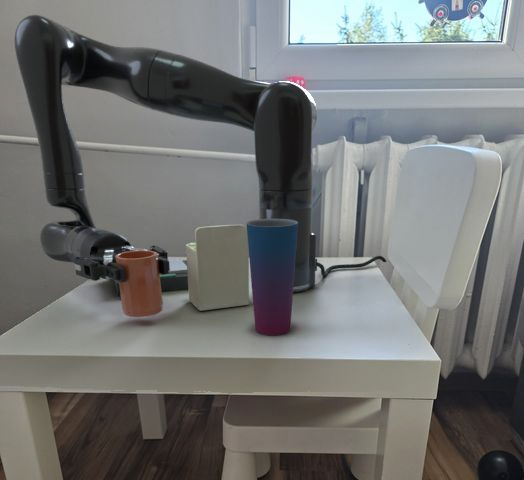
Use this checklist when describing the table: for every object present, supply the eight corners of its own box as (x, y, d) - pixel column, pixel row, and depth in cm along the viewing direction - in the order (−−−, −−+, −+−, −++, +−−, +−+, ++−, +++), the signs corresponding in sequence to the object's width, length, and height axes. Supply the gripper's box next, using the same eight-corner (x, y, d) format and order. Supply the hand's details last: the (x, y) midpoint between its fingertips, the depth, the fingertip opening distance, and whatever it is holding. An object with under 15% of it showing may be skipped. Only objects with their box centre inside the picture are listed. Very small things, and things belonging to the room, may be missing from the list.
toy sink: (234, 293, 88) (232, 217, 83) (250, 305, 82) (248, 224, 77) (187, 299, 85) (182, 221, 80) (200, 312, 79) (194, 228, 73)
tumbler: (159, 302, 79) (154, 248, 75) (165, 313, 73) (160, 256, 70) (121, 307, 77) (113, 252, 73) (124, 319, 72) (116, 260, 68)
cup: (300, 323, 73) (302, 219, 68) (290, 339, 67) (291, 227, 62) (256, 319, 75) (254, 217, 69) (242, 335, 69) (239, 225, 63)
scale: (187, 271, 103) (186, 257, 102) (201, 287, 92) (200, 271, 91) (113, 278, 99) (111, 263, 98) (118, 296, 88) (116, 279, 86)
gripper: (53, 235, 78) (91, 252, 65) (139, 225, 86) (187, 238, 73) (62, 282, 81) (100, 306, 68) (144, 267, 89) (191, 287, 76)
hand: (145, 271), depth 71 cm, fingers closed on tumbler, 6 cm apart
